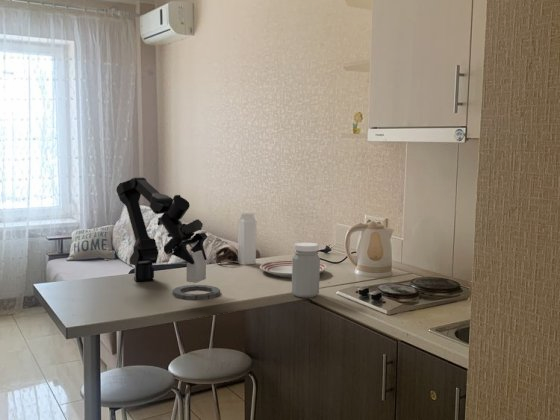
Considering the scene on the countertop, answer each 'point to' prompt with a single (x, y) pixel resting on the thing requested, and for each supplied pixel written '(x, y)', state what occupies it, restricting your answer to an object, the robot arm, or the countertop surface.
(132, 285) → the countertop surface
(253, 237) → the milk
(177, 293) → the ring
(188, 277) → the tea bag
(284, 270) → the dinner plate
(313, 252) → the jar
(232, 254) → the pottery mug
